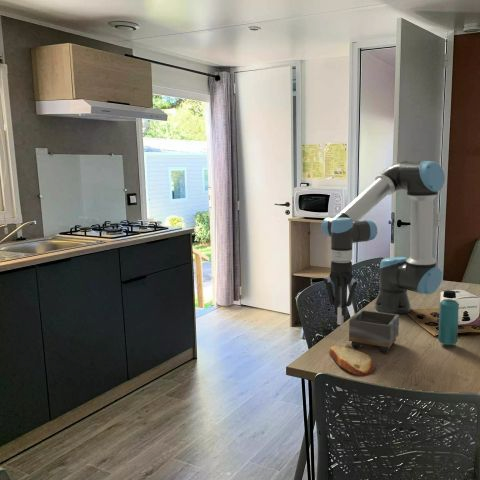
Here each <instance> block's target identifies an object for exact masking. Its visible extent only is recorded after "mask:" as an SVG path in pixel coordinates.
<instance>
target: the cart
mask: <svg viewBox="0 0 480 480" xmlns="http://www.w3.org/2000/svg"><path fill="white" fill-rule="evenodd" d="M348 323H349V324H348V325H349V326H348V327H349V329H348V330H349V331H348V341H349V342H351V347H352V349H354V350H357V349H360V347H361V346H362V344H364V345H365V344H366V345H371V346H376V347H377V346H378V350H379V352H380V353H381V354H384V355H385V354H387V353H388V352H389V350H390V347H391V346H392V345H393V344H395V342H396V341H397V337H398V336H399V330H400V327H399V326H400V314H390V313H384V312H380V311H373V310H365V309H360V310H359V311H358V312H356V313H355V314H354V315H353V316H352V318H350V319H349V320H348Z"/></svg>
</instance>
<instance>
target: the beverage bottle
mask: <svg viewBox="0 0 480 480" xmlns="http://www.w3.org/2000/svg"><path fill="white" fill-rule="evenodd" d="M442 297H443V298H444V299H442V300H441V301H440V302H439V315H438V332H437V333H438V335H437V336H438V338H437V339H438V342H440V343H441V344H443V345H456V344H457V342H458V338H459V337H458V336H459V334H458V333H459V309H460V307H459V306H460V304H459V303H458V301H457V300H455V299H457V293H456V291H455V290H452V289H451V290H450V289H449V290H443V295H442Z"/></svg>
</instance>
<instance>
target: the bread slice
mask: <svg viewBox="0 0 480 480" xmlns="http://www.w3.org/2000/svg"><path fill="white" fill-rule="evenodd" d="M328 353H329V354H328V355H329V357H332V358H333V359H332V358H331V359H332V360H333V362H335V363H336V364H337V365H338V366H339V367H340V368H341V369H344V370H345V371H347V372H349V373H350V374H352V375H353V374H354V375H355V376H360V377H365V376H369V374H370V375H371V374H373V371H374V369H375V364H374V361H373V358H371V356H370V355H368V353H367V354H366V353H365V352H363V351H359V350H357V349H355V348H350V347H347V346H339V345H333V346H330V348H329V349H328Z"/></svg>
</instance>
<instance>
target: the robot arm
mask: <svg viewBox="0 0 480 480" xmlns="http://www.w3.org/2000/svg"><path fill="white" fill-rule="evenodd" d="M445 179H446V177H445V171H444V169H443V167H442V166H441V164H440V163H438V162H436V161H432V160H430V161H429V160H417V161H415V160H414V161H412V160H411V161H408V160H404V161H403V160H402V161H398V162H396V163H395V164H393V165H390V166H389V167H387V168H386V169H384V170H382V171H381V172H380V173H379V174H378V175H377V176H376V177H375V179H374V181H373V183H372V184H370V185H369V186H368V187H367V188H366V189H364V190H363V191H362V192H361V193H360V194H359V195H357V196H356V197H355V199H353V200H352V201H351V202H350V203H349V204H347V205H346V206H345V207H344V208H343V209H342V210H341V211H340V212H338V213H337V214H336V215H335V216H334V217H332V216H330V217H326V218H324V219H323V220H322V221H321V225H320V229H321V232H322V234H324V236H327V237H330V239H331V240H330V259H331V261H330V274H329V275H328V276H326V277H325V278H323V282H324V284H325V287H326V290H327V291H326V292H327V295H328V300H329V304H330V305H333V306H334V315H335V316H337V321H336V325H338V326H339V325H340V326H342V325H343V324H344V320H345V319H344V316H346V315H347V308H348V307H350V306H351V305H352V304H353V300H354V296H355V292H356V289H357V286H358V285H359V283H360V281H359V280H357V279H355V278H354V275H353V262H352V260H353V245H354V244H355V243H363V242H370V241H372V240H374V239H375V238H376V237H377V235H378V227H377V225H376V224H377V223H375V222H374V221H372V220H361V219H362V218H364V217H365V216H366V215H367V214H368V213H369V212H371V210H372V209H374V207H376V206H377V205H378V204H379V203H380V202H382V200H383V199H385V198H386V197H387V196H390V195H391V196H392V194H394V193H395V192H397V191H400V190H405V191H406V196H407V197H408V198H409V200H410V231H409V233H410V235H409V238H410V245H409V246H410V247H409V254H410V255H409V257H406V256H393V257H385V258H383V259H381V261H380V264H379V289H378V293H377V297H376V298H375V299H376V300H375V303H374V309H375V310H376V311H377V312H382V313H390V314H397V315H401V314H407V313H411V302H410V299H409V296H408V291H411V292H414V293H418V294H419V295H422V294H424V295H432V294H434V293H435V292H436V291H437V290H438V289H439V288H440V285H441V284H442V280H443V271H442V270H441V268H439V267H437V261H436V259H435V258H434V257H433V242H434V241H433V240H434V239H433V238H434V236H433V235H434V234H433V233H434V232H433V231H434V199H435V198H437V196H438V194H439V191H440V190H442V189H443V187H444V184H445V181H446V180H445ZM332 283H333V284H334V286H333V285H332ZM349 284H351V287H350V290H349V293H348V286H349ZM333 287H334V288H333ZM340 304H341V305H340Z"/></svg>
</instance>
